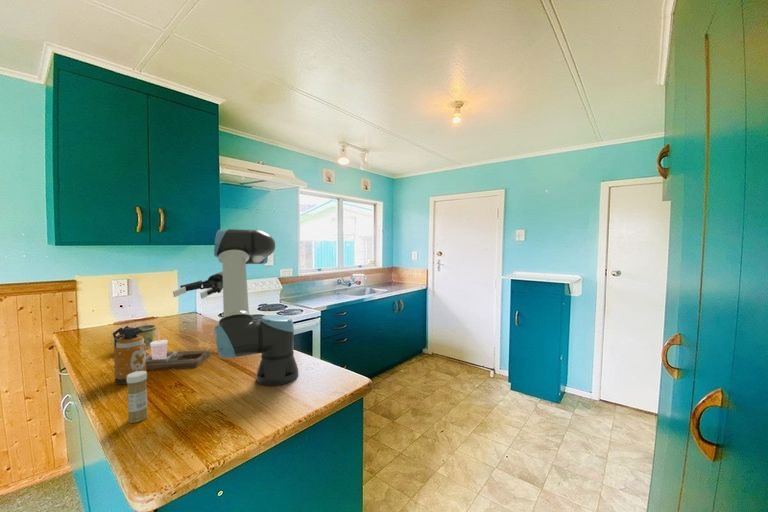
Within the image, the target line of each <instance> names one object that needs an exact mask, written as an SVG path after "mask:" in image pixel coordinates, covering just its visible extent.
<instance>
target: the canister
mask: <svg viewBox="0 0 768 512" xmlns="http://www.w3.org/2000/svg"><path fill="white" fill-rule="evenodd" d="M135 327H136V328H133V327H129V326H128V325H126V326H125V327H119V328H118V329H117V330H116V331H114V332H112V336H113V338H114V340H113V341H114V343H113V344H114V350H113V351H114V355H113V356H114V366H113V368H114V384H118V385H128V384H127V375H128V374H130V373H133V372H137V371H146V372H147V370H146V356H147V349H146V344H145V343H144V338H143V336H140V335H136V334H138V333H139V332H141V329H139V328H138V327H137V326H135ZM118 333H119V334H118Z"/></svg>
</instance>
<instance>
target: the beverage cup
mask: <svg viewBox="0 0 768 512" xmlns="http://www.w3.org/2000/svg"><path fill="white" fill-rule="evenodd" d="M160 332H161V331H160V329H158V330H157V333H158V335H157V336H158V337H157V339H158V340H155V341H153V342H151V343H150V346H151V348H150V350H151V353H152V359H165V358H166V355H167V352H168V343H169V341H168V339H161V337H160V336H161V335H160V334H161V333H160Z"/></svg>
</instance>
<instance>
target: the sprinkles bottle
mask: <svg viewBox="0 0 768 512" xmlns="http://www.w3.org/2000/svg"><path fill="white" fill-rule="evenodd" d="M147 379H148V373H147V370H146V371H137V372H133V373H130V374H128V375H127V384H126V385H127V411H128V413H127V414H128V419H127V421H128V423H129V424H134V423H135V424H136V423H140V422H142V421H144V420H145V419H147V418H148V416H149V415H148V389H147Z"/></svg>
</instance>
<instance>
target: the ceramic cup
mask: <svg viewBox="0 0 768 512" xmlns="http://www.w3.org/2000/svg"><path fill="white" fill-rule="evenodd" d="M136 327H138V328H139V329H141V332H139V333H138V334H136V335H140V336H143V338H144V343H145V344H146V350H148V349H151V346H150V343H151V342H153V341H154V340H155V336H156V331H157V325H156V324H143V325H138V326H133V327H132V328H136Z"/></svg>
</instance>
